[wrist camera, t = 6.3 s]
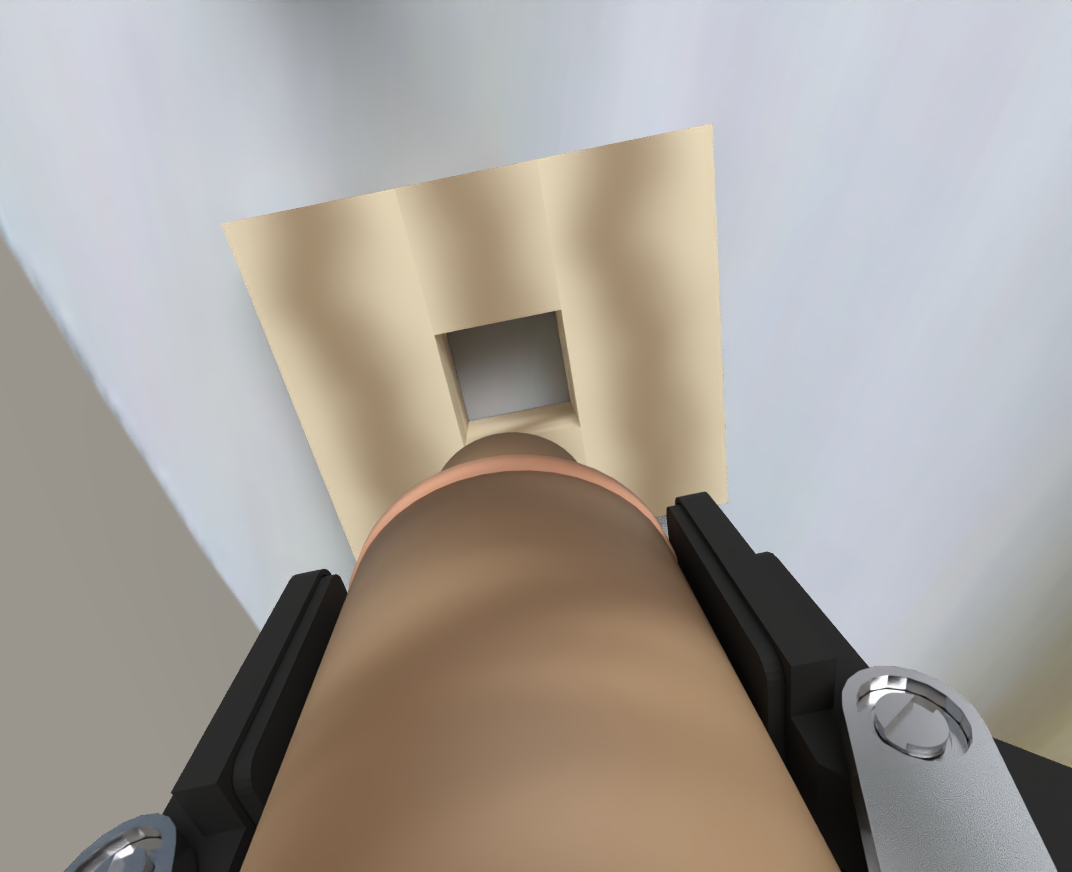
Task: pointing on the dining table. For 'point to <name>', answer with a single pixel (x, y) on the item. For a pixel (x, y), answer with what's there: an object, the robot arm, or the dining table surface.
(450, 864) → the peg
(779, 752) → the robot arm
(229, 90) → the dining table surface
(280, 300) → the board
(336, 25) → the dining table surface
